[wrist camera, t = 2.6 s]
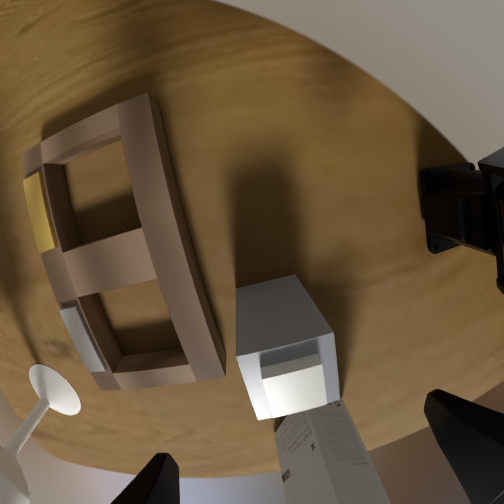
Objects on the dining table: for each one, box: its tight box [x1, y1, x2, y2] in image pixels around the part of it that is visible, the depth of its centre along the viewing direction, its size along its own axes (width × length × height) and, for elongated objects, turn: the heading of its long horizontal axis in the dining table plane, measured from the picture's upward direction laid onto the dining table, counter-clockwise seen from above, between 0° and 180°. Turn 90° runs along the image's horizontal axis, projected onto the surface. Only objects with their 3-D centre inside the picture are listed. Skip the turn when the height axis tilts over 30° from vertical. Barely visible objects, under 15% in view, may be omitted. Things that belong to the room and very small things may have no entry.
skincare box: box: [275, 400, 391, 504], centre depth 16 cm, size 6×4×12 cm
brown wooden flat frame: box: [22, 93, 226, 390], centre depth 16 cm, size 10×18×3 cm, turn 13°
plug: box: [236, 274, 340, 420], centre depth 15 cm, size 4×4×9 cm
